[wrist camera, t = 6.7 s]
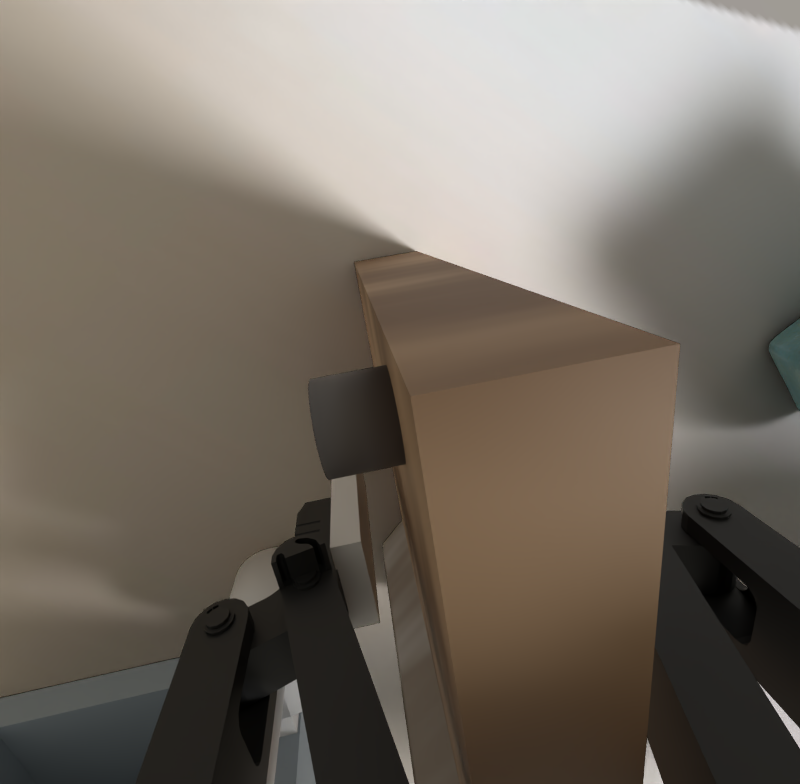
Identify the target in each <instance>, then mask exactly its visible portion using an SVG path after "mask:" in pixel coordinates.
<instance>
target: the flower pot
mask: <svg viewBox="0 0 800 784" xmlns="http://www.w3.org/2000/svg"><path fill="white" fill-rule="evenodd" d="M769 352H770V355H771V357H772V359H773V360H774V362H775V364H776V366H777V368H778V370H779V372H780V374H781V376H782V378H783V380H784V382H785V384H786V386H787V388H788V390H789V392H790V394H791V396H792V398H793V400H794V402H795V404H796V406H797V408H798V410H799V411H800V319H798V320H797V321H796V322H794V323H793V324H792V325H790V326H789V327H788V328H786V329H785V330H784V331H782V332H781V333H780V334H779V335H777V336H776V337H775V338H774V339H773V340H772V341H771V343H770V345H769Z"/></svg>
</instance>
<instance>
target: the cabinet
mask: <svg viewBox="0 0 800 784" xmlns="http://www.w3.org/2000/svg"><path fill="white" fill-rule="evenodd" d="M277 548H278V547H274V548H269V549H265V550H262V551H260V552H257V553H256V554H254V555H252V556H251V557H249V558H248V559H247V560H246V561H245V562H244V563H243V564H242V565H241V566H240V568H239V570H238V572H237V574H236V577H235V581H234V584H233V588H232V591H231V595H230V598H229V599H232V598H237V599H240V600H242V601H244V602H245V603H246V605H247V606H248V607H249V606H251V605H253V604H255V603H257V602H259V601H261V600H263V599H265V598H267V597H269V596H270V595H272V594H273V593H275V592H276V591H277V590H278V589H279V586H278V583H277V580H276V577H275V574H274V571H273V568H272V565H271V559H272V555H273V553H274V552H275V550H276V549H277ZM178 661H179V658H175V659H171V660H167V661H162V662H158V663H153V664H149V665H145V666H140V667H136V668H131V669H127V670H123V671H118V672H114V673H109V674H105V675H100V676H96V677H92V678H87V679H83V680H78V681H74V682H70V683H65V684H61V685H56V686H52V687H47V688H43V689H39V690H34V691H30V692H25V693H21V694H17V695H12V696H8V697H3V698H0V784H135V783H136V780H137V777H138V774H139V771H140V769H141V766H142V763H143V760H144V757H145V754H146V752H147V749H148V746H149V743H150V740H151V737H152V735H153V732H154V729H155V726H156V723H157V721H158V718H159V715H160V712H161V709H162V706H163V704H164V701H165V698H166V695H167V692H168V689H169V687H170V684H171V681H172V678H173V675H174V673H175V670H176V667H177V664H178ZM266 784H316V782H315V776H314V771H313V766H312V760H311V755H310V750H309V744H308V739H307V733H306V728H305V723H304V717H303V712H302V707H301V701H300V696H299V690H298V685H297V680H294V681H293V682H291V683H289V684H287V685H286V686H284V687H282V688H280V689H278V690H277V698H276V707H275V715H274V723H273V732H272V740H271V748H270V757H269V765H268V773H267V782H266Z"/></svg>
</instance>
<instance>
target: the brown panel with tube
mask: <svg viewBox="0 0 800 784" xmlns="http://www.w3.org/2000/svg"><path fill="white" fill-rule="evenodd" d="M354 265H355V270H356V275H357V281H358V286H359V291H360V297H361V302H362V307H363V313H364V318H365V323H366V329H367V334H368V339H369V345H370V350H371V355H372V361H373V366H374V367H372V368H366V369H361V370H356V371H351V372H345V373H340V374H335V375H330V376H324V377H319V378H314V379H310V380H309V387H308V390H309V404H310V412H311V419H312V425H313V431H314V436H315V441H316V445H317V449H318V454H319V457H320V461H321V464H322V467H323V470H324V473H325V475H326V477H327V479H328V480H331V479H336V478H341V477H346V476H351V475H356V474H361V473H366V472H370V471H375V470H380V469H385V468H390V467H392V468H393V473H394V478H395V484H396V489H397V494H398V500H399V505H400V510H401V516H402V521H401V522H400V523H399V525H398V526H397V527H396V528H395V530H394V531H393V532H392V533H391V534H390V536H389V537H388V538H387V539H386V541H385V542H384V543H383V547H382V549H383V557H384V564H385V571H386V579H387V586H388V593H389V600H390V608H391V615H392V622H393V630H394V637H395V644H396V652H397V659H398V666H399V673H400V681H401V688H402V695H403V703H404V710H405V717H406V725H407V732H408V739H409V747H410V754H411V761H412V768H413V776H414V783H415V784H643V778H644V766H645V754H646V742H647V731H648V719H649V707H650V695H651V683H652V671H653V660H654V648H655V636H656V624H657V612H658V600H659V589H660V577H661V565H662V553H663V541H664V529H665V518H666V506H667V494H668V482H669V470H670V459H671V447H672V435H673V423H674V411H675V399H676V388H677V376H678V364H679V352H680V344H679V343H676V342H674V341H671V340H668V339H665V338H662V337H659V336H656V335H654V334H651V333H648V332H645V331H642V330H639V329H637V328H634V327H631V326H628V325H625V324H622V323H619V322H617V321H614V320H611V319H608V318H605V317H602V316H600V315H597V314H594V313H591V312H588V311H585V310H582V309H580V308H577V307H574V306H571V305H568V304H565V303H563V302H560V301H557V300H554V299H551V298H548V297H545V296H543V295H540V294H537V293H534V292H531V291H528V290H526V289H523V288H520V287H517V286H514V285H511V284H508V283H506V282H503V281H500V280H497V279H494V278H491V277H489V276H486V275H483V274H480V273H477V272H474V271H471V270H469V269H466V268H463V267H460V266H457V265H454V264H451V263H449V262H446V261H443V260H440V259H437V258H434V257H432V256H429V255H426V254H423V253H420V252H417V251H414V252H408V253H403V254H397V255H391V256H385V257H380V258H374V259H368V260H362V261H356V262H354Z"/></svg>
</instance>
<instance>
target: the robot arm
mask: <svg viewBox="0 0 800 784" xmlns="http://www.w3.org/2000/svg"><path fill="white" fill-rule="evenodd" d="M271 565H272V568H273V571H274V574H275V577H276V580H277V583H278V586H279V589H278V590H277V591H276V592H275V593H273V594H272V595H270V596H269V597H267V598H265V599H263V600H261V601H259V602H257V603H255V604H253V605H251V606H249V607H248V606H247V605H246V603H245V602H244V601H242V600H240V599H237V598H232V599H224V600H222V601H219V602H216V603H214V604H212V605H211V606H209V607H208V608H206V609H205V610H204V611H203V612H202V613H201V614H200V615H199V616H198V617H197V618H196V619H195V621H194V622H193V624H192V626H191V628H190V630H189V633H188V636H187V639H186V642H185V644H184V647H183V650H182V653H181V656H180V658H179V661H178V664H177V667H176V670H175V673H174V675H173V678H172V681H171V684H170V687H169V689H168V692H167V695H166V698H165V701H164V704H163V706H162V709H161V712H160V715H159V718H158V721H157V723H156V726H155V729H154V732H153V735H152V737H151V740H150V743H149V746H148V749H147V752H146V754H145V757H144V760H143V763H142V766H141V769H140V771H139V774H138V777H137V780H136V783H135V784H266V782H267V773H268V765H269V757H270V748H271V740H272V732H273V723H274V715H275V707H276V698H277V690H278V689H280V688H282V687H284V686H286V685H287V684H289V683H291V682H293V681H294V680H297V685H298V690H299V696H300V701H301V707H302V712H303V717H304V723H305V728H306V733H307V739H308V744H309V750H310V755H311V760H312V766H313V771H314V776H315V782H316V784H409V782H408V779H407V776H406V774H405V771H404V768H403V765H402V762H401V760H400V757H399V754H398V751H397V749H396V746H395V743H394V740H393V737H392V735H391V732H390V729H389V726H388V723H387V721H386V718H385V715H384V712H383V710H382V707H381V704H380V701H379V698H378V696H377V693H376V690H375V687H374V684H373V682H372V679H371V676H370V673H369V671H368V668H367V665H366V662H365V659H364V657H363V654H362V651H361V648H360V645H359V643H358V640H357V637H356V634H355V632H354V629H355V628H359V627H364V626H368V625H372V624H377V623H380V619H379V609H378V600H377V590H376V581H375V571H374V562H373V552H372V543H371V533H370V524H369V514H368V505H367V495H366V486H365V481H364V477H363V473H361V474H356V475H351V476H346V477H341V478H336V479H332V481H331V498H326V499H322V500H317V501H312V502H307V503H305V504H304V506H303V507H302V509H301V510H300V511H299V513H298V515H297V522H296V529H295V537H293V538H291V539H289V540H287V541H285V542H284V543H283V544H281V545H280V546H279V547H278V548H277V549H276V550H275V552H274V553H273V555H272V559H271ZM737 577H738V578H739V579H740V580H741V581H742V582H743V583H744V584H745V585H746V586H747V587H748V588H747V587H746V586H744V585H743V584H742V583H741V582H740V581H739V580H737ZM757 681H758V682H759V683H758V682H757ZM759 684H760V685H761V686H762V687H763V688H764V689H765V690H766V691H767V692H768V694H769V695H770V696H771V697H772V698H773V699H774V700H775V701H776V702H777V703H778V705H779V706H780V707H781V708H782V709H783V710H784V711H785V712H786V713H787V715H788V716H789V717H790V718H791V719H792V720H793V721H794V722H795V723H796V724H797V726H798V727H799V728H800V548H799V547H797V546H796V545H794V544H793V543H792V542H790V541H789V540H787V539H786V538H785V537H783V536H782V535H780V534H779V533H778V532H776V531H775V530H773V529H772V528H771V527H769V526H768V525H766V524H765V523H763V522H762V521H761V520H759V519H758V518H756V517H755V516H754V515H752V514H751V513H749V512H748V511H747V510H745V509H744V508H742V507H741V506H740V505H738V504H736V503H734V502H733V501H731V500H729V499H726V498H723V497H720V496H716V495H708V494H699V495H692V496H690V497H687V498H686V499H685V500H684V501H683V502H682V510H681V511H666V518H665V529H664V541H663V553H662V565H661V577H660V589H659V600H658V612H657V624H656V636H655V648H654V660H653V671H652V683H651V695H650V707H649V719H648V731H647V738H648V741H649V744H650V747H651V750H652V752H653V755H654V758H655V761H656V764H657V766H658V769H659V772H660V775H661V778H662V780H663V783H664V784H800V748H799V747H798V745H797V744H796V742H795V740H794V739H793V737H792V736H791V734H790V732H789V731H788V729H787V728H786V726H785V725H784V723H783V721H782V720H781V718H780V717H779V715H778V713H777V712H776V710H775V709H774V707H773V706H772V704H771V702H770V701H769V699H768V698H767V696H766V694H765V693H764V691H763V690H762V688H761V686H760V685H759Z"/></svg>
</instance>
